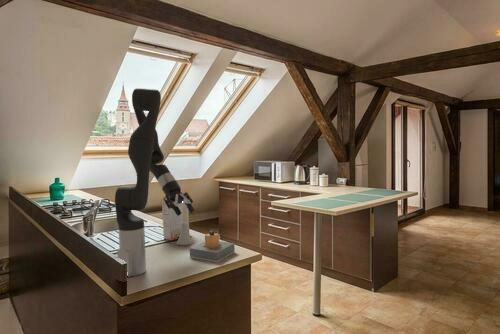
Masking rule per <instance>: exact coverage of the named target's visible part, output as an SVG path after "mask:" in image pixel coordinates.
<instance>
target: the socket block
mask: <svg viewBox="0 0 500 334" xmlns="http://www.w3.org/2000/svg"><path fill="white" fill-rule="evenodd" d="M234 253H235V243H233V242H227V241H220V240H219V247H217V248H215V249H213V248H207V247H205V241H202V242H200V243H198V244H196V245H194V246H192V247H190V248H189V258H193V259H197V260H203V261H210V262H214V263H218V262H220V261H222V260H224V259H225V258H228V257H229V256H230V255H232V254H234Z"/></svg>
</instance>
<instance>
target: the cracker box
mask: <svg viewBox="0 0 500 334" xmlns="http://www.w3.org/2000/svg"><path fill="white" fill-rule="evenodd" d="M183 201H184V200H183ZM185 203H187V202H185ZM187 204H188V203H187ZM161 205H162V206H161V209H162V212H161V213H162V227H163V228H162V229H163V231H162V233H163V240H165V239H169V240H168V241H174V240H177V239H179V238H178V237H179V236H180V233H181V224H182V223H187V224H188V225H187V229H188V233H189V234H190V222H189V221H190V218H189V216H190V215H189V214H190V213H189V210H188V208H187V206H186V205H183V204H181V203H178V204H177V206H178V208H179V209H180V211H181V214H180V215H179V216H178V215H177V214H176V213H175V211H174V210H173V209H172V208H170V209H169V208H168V207H167V205H166V203H165V201H164V199H163V198H162V199H161ZM169 205H170V203H169ZM176 238H177V239H176Z"/></svg>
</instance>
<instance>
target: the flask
mask: <svg viewBox="0 0 500 334" xmlns="http://www.w3.org/2000/svg"><path fill="white" fill-rule="evenodd" d="M187 225H188V224H187V223H182V224H181V233H180V236H179V238H177V239H178V240H177V241H176V244H177V245H178V246H189V245H192V244H193V243H194V242H193V240H192V238H191V235H190V232H189V233H188V229H187Z"/></svg>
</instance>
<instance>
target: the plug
mask: <svg viewBox="0 0 500 334" xmlns="http://www.w3.org/2000/svg"><path fill="white" fill-rule="evenodd" d="M219 241H220V234H219V233H217V232H216V233H215V230H209V233H206V234H205V235H204V242H205V247H207V248H213V249H215V248H217V247H219Z"/></svg>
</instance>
